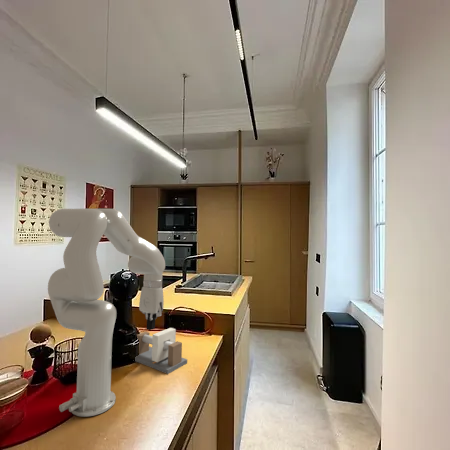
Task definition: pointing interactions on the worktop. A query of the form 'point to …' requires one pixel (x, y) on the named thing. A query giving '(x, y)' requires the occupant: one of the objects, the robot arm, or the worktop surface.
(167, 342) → the rod rig
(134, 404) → the worktop surface
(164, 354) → the collar
